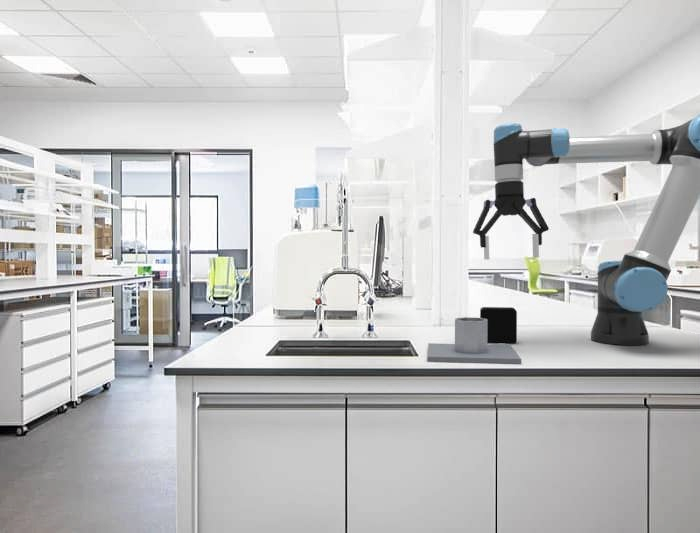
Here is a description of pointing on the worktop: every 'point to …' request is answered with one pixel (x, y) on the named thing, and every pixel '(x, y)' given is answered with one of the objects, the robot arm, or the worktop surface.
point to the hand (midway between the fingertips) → (511, 258)
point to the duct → (493, 355)
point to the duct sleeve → (471, 335)
